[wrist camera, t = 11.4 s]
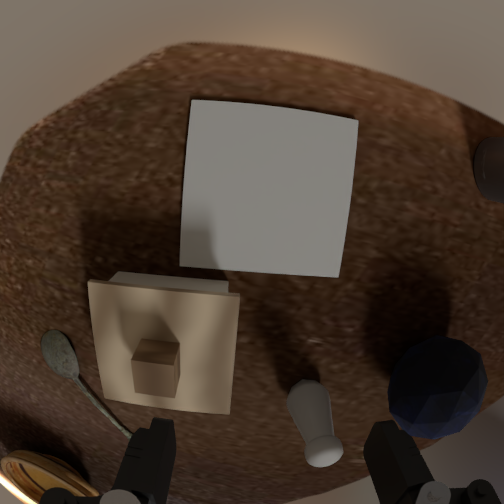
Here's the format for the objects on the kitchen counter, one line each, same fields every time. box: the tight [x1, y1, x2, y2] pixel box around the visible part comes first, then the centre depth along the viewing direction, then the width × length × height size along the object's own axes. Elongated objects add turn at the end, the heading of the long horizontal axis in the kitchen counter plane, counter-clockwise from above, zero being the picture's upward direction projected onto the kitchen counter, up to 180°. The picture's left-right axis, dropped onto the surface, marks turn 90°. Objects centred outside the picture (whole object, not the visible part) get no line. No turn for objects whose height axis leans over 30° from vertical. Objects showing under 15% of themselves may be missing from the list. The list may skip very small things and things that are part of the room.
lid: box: [88, 279, 240, 414], centre depth 29 cm, size 15×15×5 cm
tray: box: [180, 100, 358, 277], centre depth 33 cm, size 18×18×1 cm
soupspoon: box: [41, 330, 133, 441], centre depth 38 cm, size 22×3×7 cm
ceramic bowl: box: [1, 450, 99, 504], centre depth 41 cm, size 30×24×8 cm
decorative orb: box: [388, 335, 488, 439], centre depth 34 cm, size 14×15×15 cm
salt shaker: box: [287, 379, 343, 467], centre depth 34 cm, size 6×6×13 cm
